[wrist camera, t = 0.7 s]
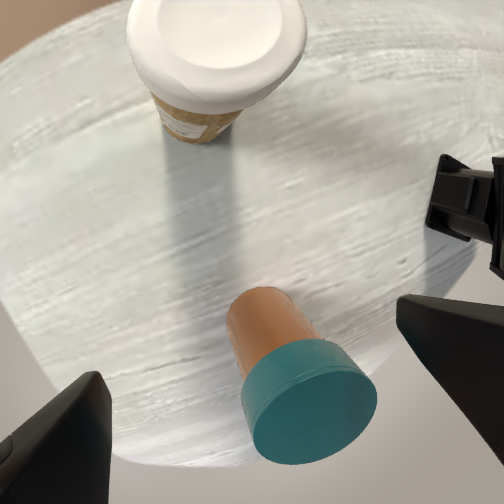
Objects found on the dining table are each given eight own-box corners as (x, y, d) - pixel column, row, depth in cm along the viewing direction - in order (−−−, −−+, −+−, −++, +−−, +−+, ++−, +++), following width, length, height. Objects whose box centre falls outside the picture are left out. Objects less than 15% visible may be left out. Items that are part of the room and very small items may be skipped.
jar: (304, 292, 23) (381, 372, 13) (284, 353, 25) (341, 449, 14) (234, 281, 22) (279, 371, 12) (219, 346, 23) (247, 455, 13)
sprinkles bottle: (242, 126, 20) (342, 68, 7) (176, 156, 19) (166, 135, 7) (213, 65, 18) (266, -63, 5) (147, 93, 18) (99, -14, 5)
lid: (368, 342, 16) (397, 370, 13) (329, 426, 17) (348, 459, 14) (257, 332, 14) (275, 368, 11) (229, 427, 15) (239, 467, 13)
